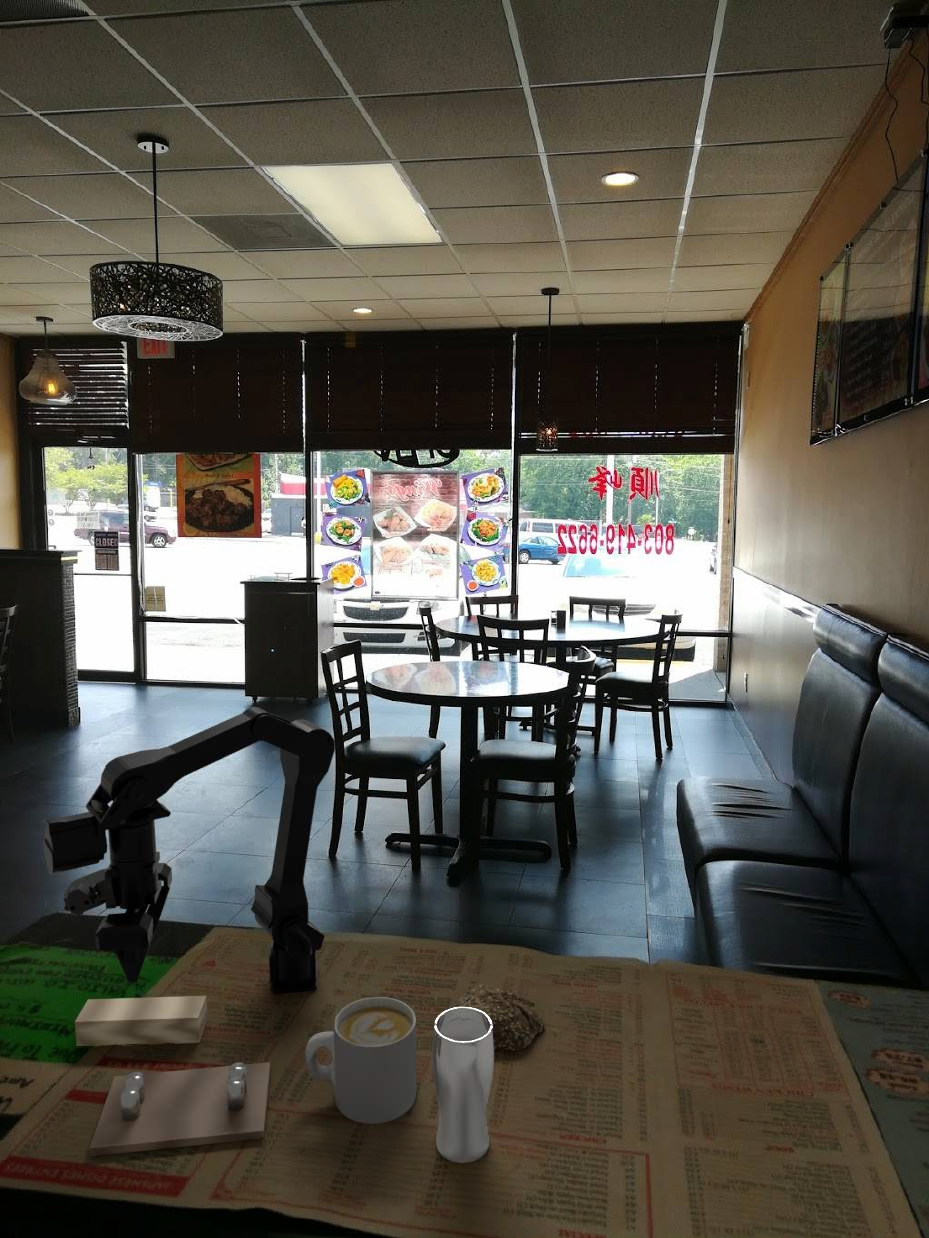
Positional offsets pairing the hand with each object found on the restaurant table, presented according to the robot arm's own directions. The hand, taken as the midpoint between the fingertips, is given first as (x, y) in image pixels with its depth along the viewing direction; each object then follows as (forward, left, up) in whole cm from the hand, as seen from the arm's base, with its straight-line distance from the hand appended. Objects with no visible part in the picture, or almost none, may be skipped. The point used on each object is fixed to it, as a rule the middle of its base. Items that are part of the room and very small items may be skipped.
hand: (140, 962), depth 119 cm
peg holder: (-8, +16, -10) cm, 21 cm away
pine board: (0, 0, -11) cm, 11 cm away
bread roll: (-48, +5, -11) cm, 49 cm away
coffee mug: (-29, +16, -11) cm, 35 cm away
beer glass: (-40, +26, -11) cm, 49 cm away
